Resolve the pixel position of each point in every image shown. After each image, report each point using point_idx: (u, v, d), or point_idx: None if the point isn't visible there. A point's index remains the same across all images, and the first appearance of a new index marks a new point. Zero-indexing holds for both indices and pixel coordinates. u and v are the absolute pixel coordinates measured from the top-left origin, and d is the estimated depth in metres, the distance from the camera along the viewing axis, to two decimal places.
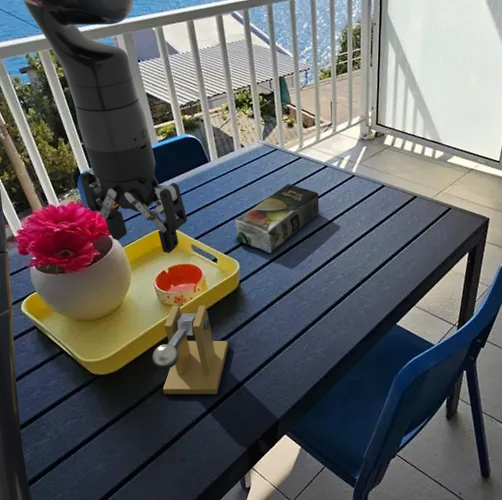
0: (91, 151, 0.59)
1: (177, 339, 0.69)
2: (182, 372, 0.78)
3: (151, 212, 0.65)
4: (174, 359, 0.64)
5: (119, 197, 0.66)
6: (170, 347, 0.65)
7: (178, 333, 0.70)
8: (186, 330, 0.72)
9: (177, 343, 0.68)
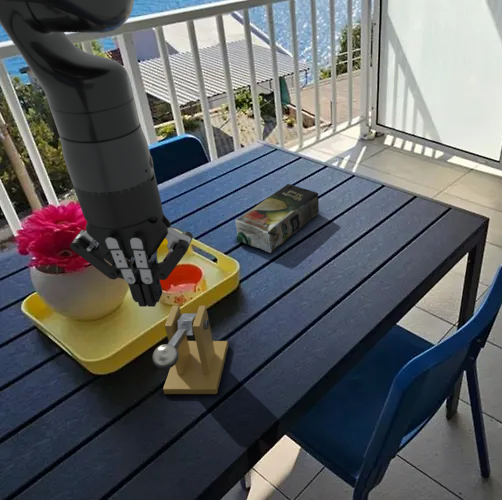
0: (91, 194, 0.47)
1: (177, 339, 0.69)
2: (182, 372, 0.78)
3: (148, 263, 0.54)
4: (174, 359, 0.64)
5: None
6: (170, 347, 0.65)
7: (178, 333, 0.70)
8: (186, 330, 0.72)
9: (177, 343, 0.68)
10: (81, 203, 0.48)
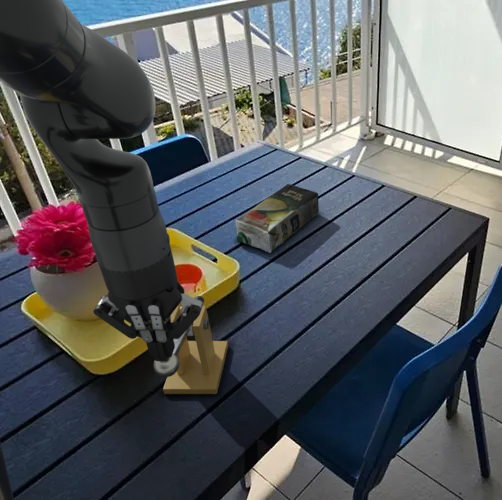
0: (115, 272, 0.52)
1: (177, 344, 0.69)
2: (182, 372, 0.78)
3: (163, 325, 0.59)
4: (175, 368, 0.65)
5: None
6: None
7: None
8: (186, 332, 0.72)
9: (178, 348, 0.68)
10: (105, 278, 0.53)
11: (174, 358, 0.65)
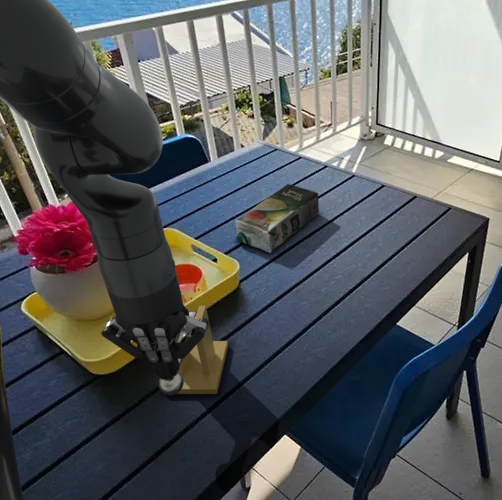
0: (123, 299, 0.54)
1: None
2: (182, 372, 0.78)
3: (169, 346, 0.61)
4: (180, 387, 0.67)
5: None
6: (174, 378, 0.66)
7: None
8: None
9: (180, 361, 0.70)
10: (113, 303, 0.55)
11: (178, 379, 0.67)
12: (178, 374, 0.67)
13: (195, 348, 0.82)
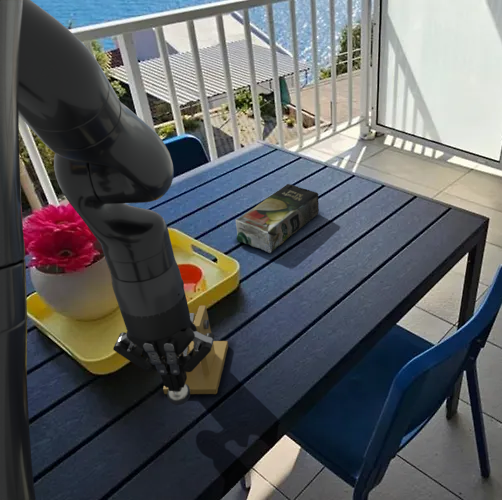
0: (135, 317, 0.57)
1: None
2: None
3: (177, 360, 0.65)
4: (188, 398, 0.70)
5: None
6: (181, 392, 0.69)
7: None
8: None
9: None
10: (125, 321, 0.58)
11: (185, 393, 0.70)
12: (184, 387, 0.70)
13: None
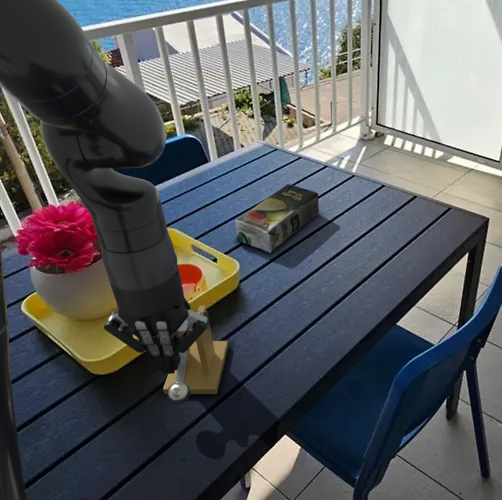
0: (126, 291, 0.55)
1: (184, 364, 0.72)
2: None
3: (170, 340, 0.62)
4: (187, 398, 0.70)
5: None
6: (181, 392, 0.69)
7: None
8: None
9: (185, 369, 0.72)
10: (116, 296, 0.56)
11: (185, 392, 0.70)
12: (184, 387, 0.70)
13: (195, 348, 0.82)
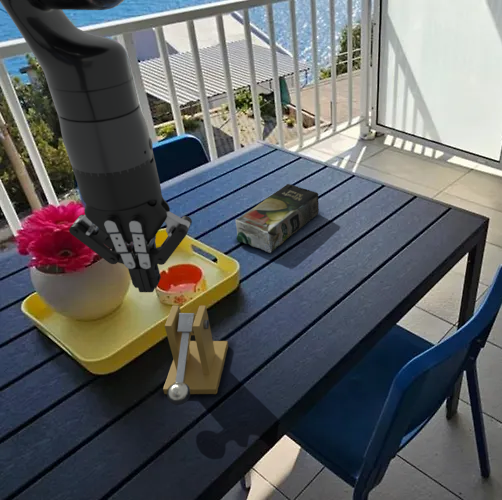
0: (90, 175, 0.46)
1: (184, 364, 0.72)
2: None
3: (147, 247, 0.54)
4: (187, 398, 0.70)
5: None
6: (181, 392, 0.69)
7: (182, 351, 0.72)
8: (189, 340, 0.74)
9: (185, 369, 0.72)
10: (80, 185, 0.48)
11: (185, 392, 0.70)
12: (184, 387, 0.70)
13: (195, 348, 0.82)
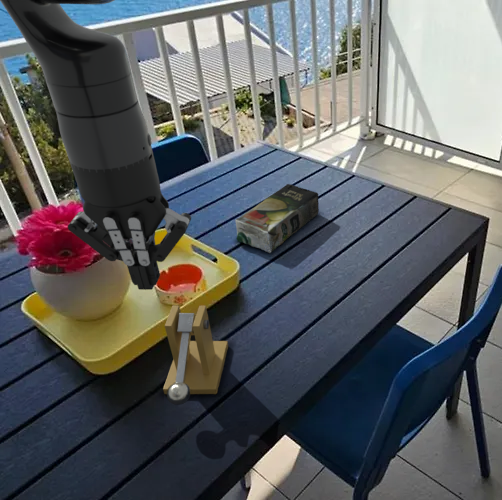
0: (89, 171, 0.46)
1: (184, 364, 0.72)
2: None
3: (146, 244, 0.54)
4: (187, 398, 0.70)
5: None
6: (181, 392, 0.69)
7: (182, 351, 0.72)
8: (189, 340, 0.74)
9: (185, 369, 0.72)
10: (78, 181, 0.48)
11: (185, 392, 0.70)
12: (184, 387, 0.70)
13: (195, 348, 0.82)
